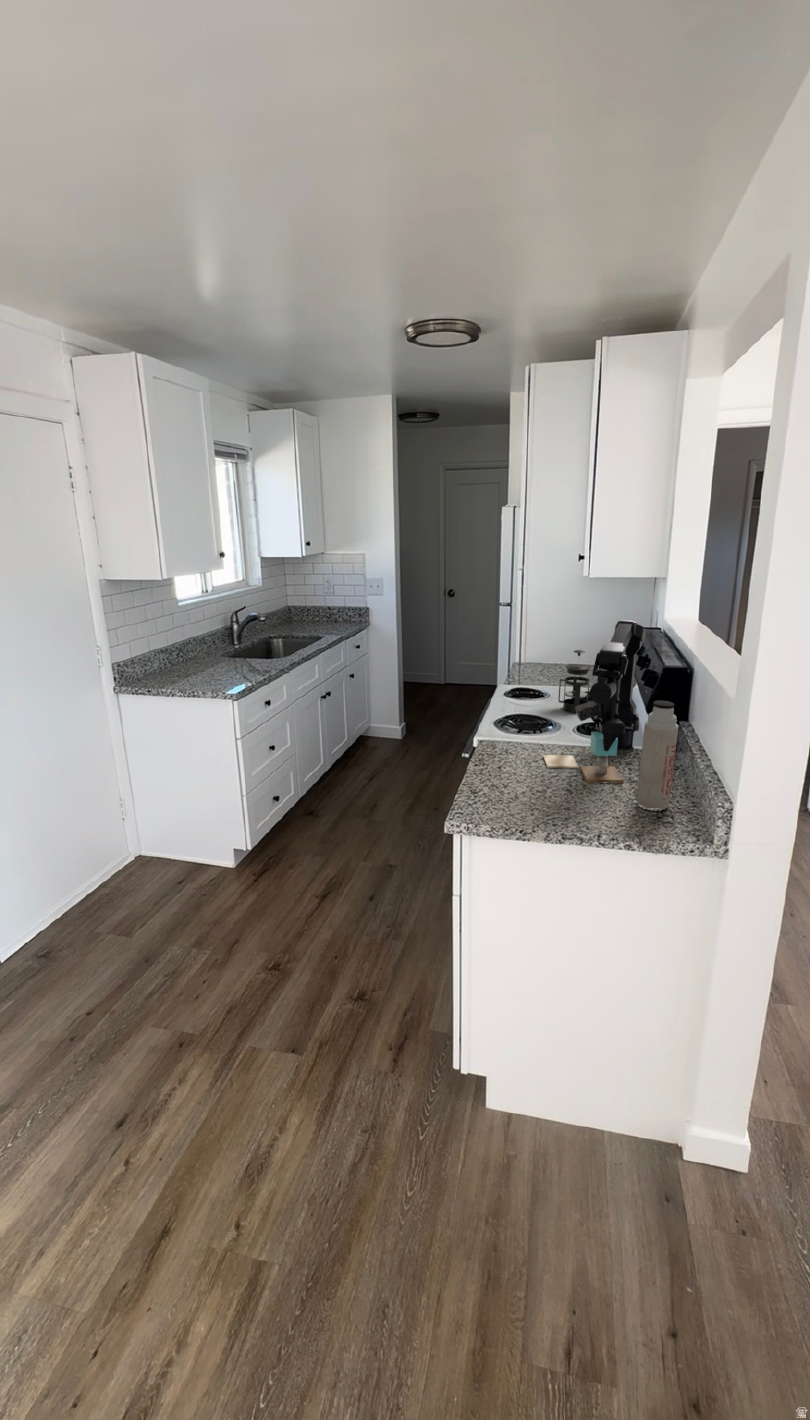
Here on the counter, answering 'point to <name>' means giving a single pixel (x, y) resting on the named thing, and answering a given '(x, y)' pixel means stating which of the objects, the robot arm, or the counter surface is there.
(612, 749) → the teal cube
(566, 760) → the board
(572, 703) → the french press
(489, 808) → the counter surface
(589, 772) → the post stand
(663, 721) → the thermos bottle
